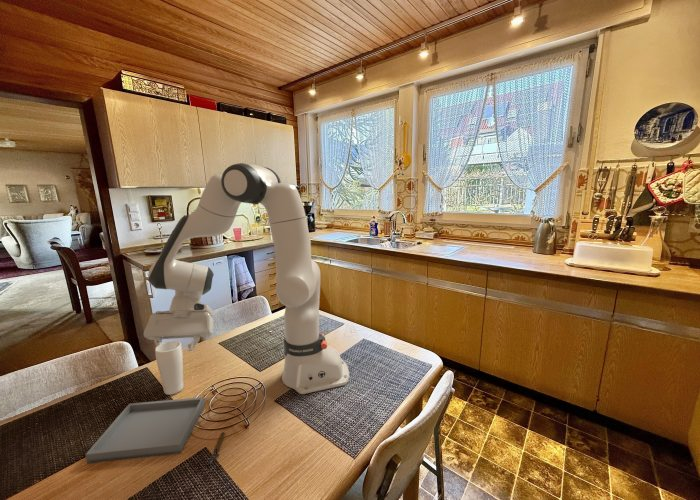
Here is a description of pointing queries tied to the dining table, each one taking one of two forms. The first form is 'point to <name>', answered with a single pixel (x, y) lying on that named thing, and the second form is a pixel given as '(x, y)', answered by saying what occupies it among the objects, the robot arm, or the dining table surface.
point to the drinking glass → (170, 366)
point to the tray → (148, 430)
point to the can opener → (217, 448)
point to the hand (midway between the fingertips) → (174, 351)
